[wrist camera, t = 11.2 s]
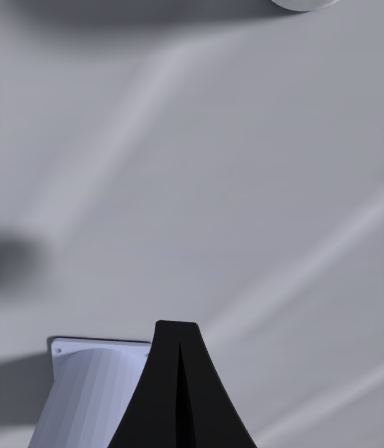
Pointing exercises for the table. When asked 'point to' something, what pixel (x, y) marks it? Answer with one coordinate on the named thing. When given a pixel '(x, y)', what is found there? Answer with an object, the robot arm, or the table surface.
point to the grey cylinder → (304, 4)
